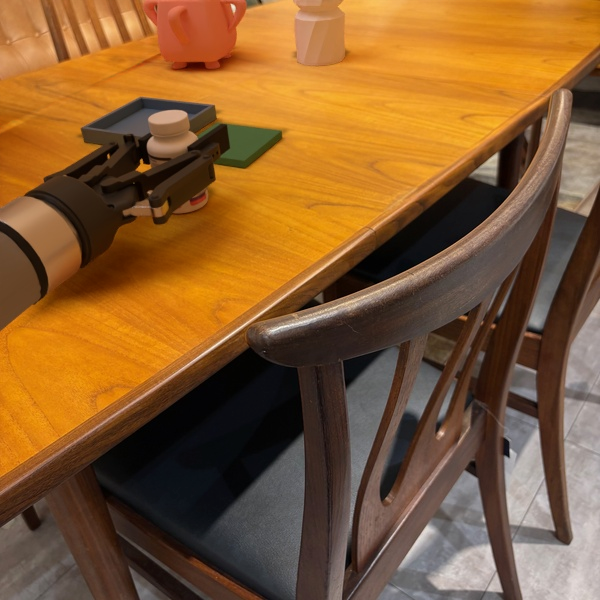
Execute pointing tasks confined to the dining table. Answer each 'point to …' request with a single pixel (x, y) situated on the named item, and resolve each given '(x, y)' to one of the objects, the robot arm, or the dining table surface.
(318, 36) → the vase
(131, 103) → the tray
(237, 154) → the scouring pad
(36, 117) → the dining table surface
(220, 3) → the pink handled pot
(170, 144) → the pill bottle
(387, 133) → the dining table surface
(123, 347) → the dining table surface
